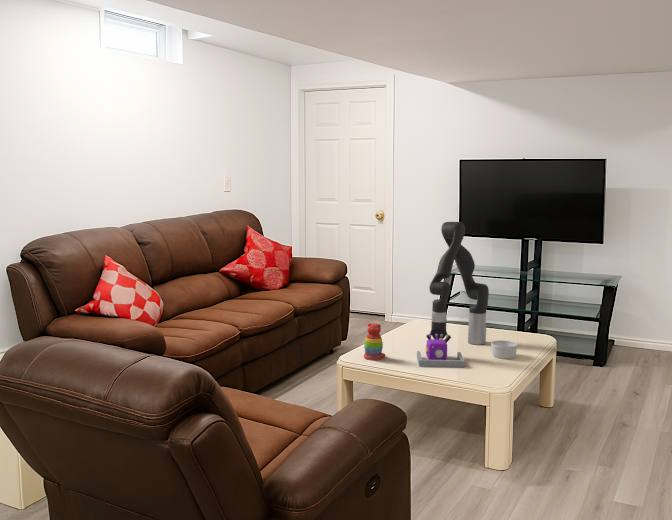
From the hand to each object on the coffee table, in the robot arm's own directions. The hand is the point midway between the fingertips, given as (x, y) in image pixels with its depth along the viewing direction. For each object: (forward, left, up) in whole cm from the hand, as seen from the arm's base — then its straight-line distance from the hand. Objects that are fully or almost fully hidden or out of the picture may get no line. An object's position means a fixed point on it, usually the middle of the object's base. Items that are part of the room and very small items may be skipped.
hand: (438, 353), depth 359 cm
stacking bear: (+33, +6, -2) cm, 34 cm away
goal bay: (0, +10, -2) cm, 10 cm away
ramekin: (-34, -2, -2) cm, 34 cm away
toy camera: (+1, +8, -2) cm, 8 cm away
